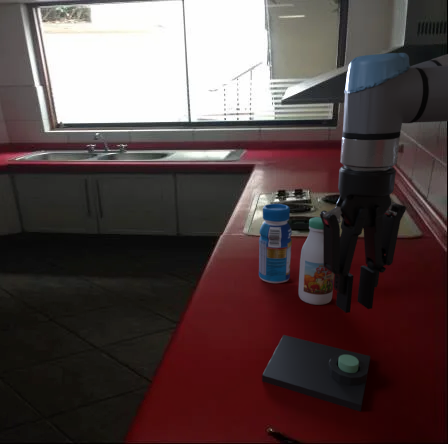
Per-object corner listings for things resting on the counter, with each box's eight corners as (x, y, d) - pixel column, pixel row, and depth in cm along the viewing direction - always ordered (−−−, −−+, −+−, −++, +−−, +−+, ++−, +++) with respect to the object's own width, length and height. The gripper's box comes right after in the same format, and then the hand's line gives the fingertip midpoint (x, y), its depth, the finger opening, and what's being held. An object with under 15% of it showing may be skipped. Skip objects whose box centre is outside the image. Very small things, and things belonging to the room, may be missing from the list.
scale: (370, 362, 77) (371, 348, 76) (361, 412, 66) (362, 396, 65) (283, 340, 85) (283, 327, 85) (261, 381, 74) (262, 367, 73)
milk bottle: (291, 297, 102) (295, 220, 96) (309, 287, 107) (313, 212, 101) (321, 309, 96) (326, 227, 90) (338, 297, 101) (344, 219, 95)
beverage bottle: (251, 276, 114) (252, 206, 108) (273, 268, 119) (275, 200, 113) (274, 287, 108) (277, 213, 101) (297, 278, 112) (300, 207, 106)
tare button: (359, 364, 73) (360, 357, 72) (356, 375, 70) (357, 367, 70) (339, 359, 75) (340, 352, 74) (336, 370, 72) (337, 362, 71)
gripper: (396, 157, 67) (381, 289, 74) (303, 167, 64) (296, 303, 71) (435, 165, 60) (414, 310, 67) (332, 176, 57) (322, 326, 64)
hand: (353, 306), depth 69 cm, fingers open, 3 cm apart
